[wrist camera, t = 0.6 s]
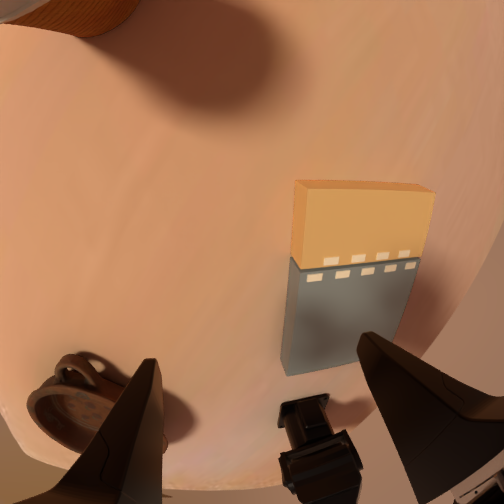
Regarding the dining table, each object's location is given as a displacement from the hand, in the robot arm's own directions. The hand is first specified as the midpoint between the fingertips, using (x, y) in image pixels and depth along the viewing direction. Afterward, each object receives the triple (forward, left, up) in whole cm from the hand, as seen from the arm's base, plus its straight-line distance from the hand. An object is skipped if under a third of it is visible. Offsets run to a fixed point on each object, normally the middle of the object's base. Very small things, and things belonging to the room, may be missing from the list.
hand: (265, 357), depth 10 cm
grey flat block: (-9, -11, -13) cm, 20 cm away
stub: (0, -11, -13) cm, 17 cm away
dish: (-22, +17, -14) cm, 31 cm away
